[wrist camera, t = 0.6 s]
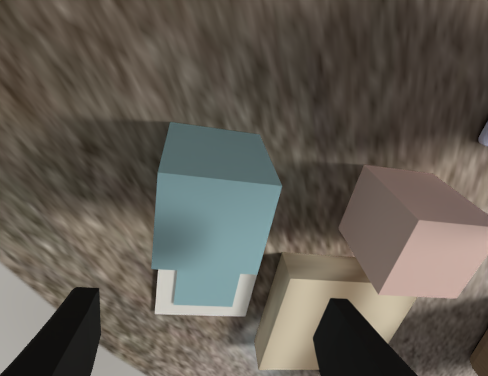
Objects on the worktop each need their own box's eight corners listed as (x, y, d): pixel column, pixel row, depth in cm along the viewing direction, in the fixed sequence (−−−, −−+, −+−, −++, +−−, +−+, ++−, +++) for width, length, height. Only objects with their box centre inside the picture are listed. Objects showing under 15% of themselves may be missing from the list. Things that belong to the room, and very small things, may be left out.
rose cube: (432, 173, 21) (506, 228, 16) (400, 233, 24) (456, 298, 18) (363, 164, 20) (419, 220, 15) (337, 227, 23) (378, 295, 18)
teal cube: (259, 134, 18) (282, 186, 13) (243, 206, 21) (257, 274, 16) (170, 121, 18) (157, 172, 12) (164, 199, 20) (151, 269, 15)
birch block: (401, 257, 25) (424, 285, 23) (357, 338, 30) (371, 369, 28) (280, 248, 24) (290, 278, 21) (253, 336, 28) (258, 369, 26)
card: (263, 245, 23) (264, 250, 22) (244, 313, 26) (245, 318, 25) (160, 238, 21) (160, 243, 21) (155, 310, 25) (154, 316, 24)
